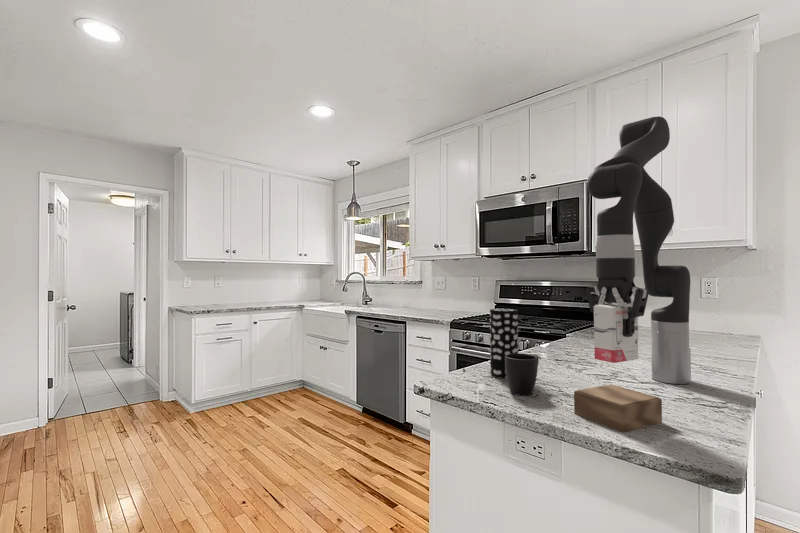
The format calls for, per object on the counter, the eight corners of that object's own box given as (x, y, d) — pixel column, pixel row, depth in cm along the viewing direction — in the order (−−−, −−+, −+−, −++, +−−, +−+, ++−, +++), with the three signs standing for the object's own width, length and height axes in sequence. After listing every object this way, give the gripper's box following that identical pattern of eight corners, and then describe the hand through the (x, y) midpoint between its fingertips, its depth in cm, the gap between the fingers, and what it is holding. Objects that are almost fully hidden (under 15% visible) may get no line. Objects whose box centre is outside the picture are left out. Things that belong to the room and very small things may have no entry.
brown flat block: (611, 405, 98) (611, 383, 98) (661, 422, 87) (661, 397, 87) (574, 413, 93) (574, 390, 93) (623, 432, 82) (622, 405, 82)
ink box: (613, 363, 86) (612, 306, 86) (592, 359, 90) (592, 305, 90) (639, 359, 90) (639, 304, 90) (618, 355, 94) (618, 303, 94)
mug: (551, 390, 110) (551, 354, 111) (526, 399, 103) (525, 361, 103) (524, 384, 117) (524, 350, 117) (498, 392, 109) (498, 356, 109)
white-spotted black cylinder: (521, 378, 123) (521, 311, 123) (493, 378, 123) (493, 311, 123) (514, 371, 131) (513, 308, 131) (488, 371, 131) (487, 308, 131)
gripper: (658, 255, 85) (659, 338, 85) (599, 257, 98) (599, 329, 98) (634, 255, 82) (635, 341, 82) (576, 257, 95) (576, 331, 95)
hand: (615, 334), depth 90 cm, fingers closed on ink box, 5 cm apart
